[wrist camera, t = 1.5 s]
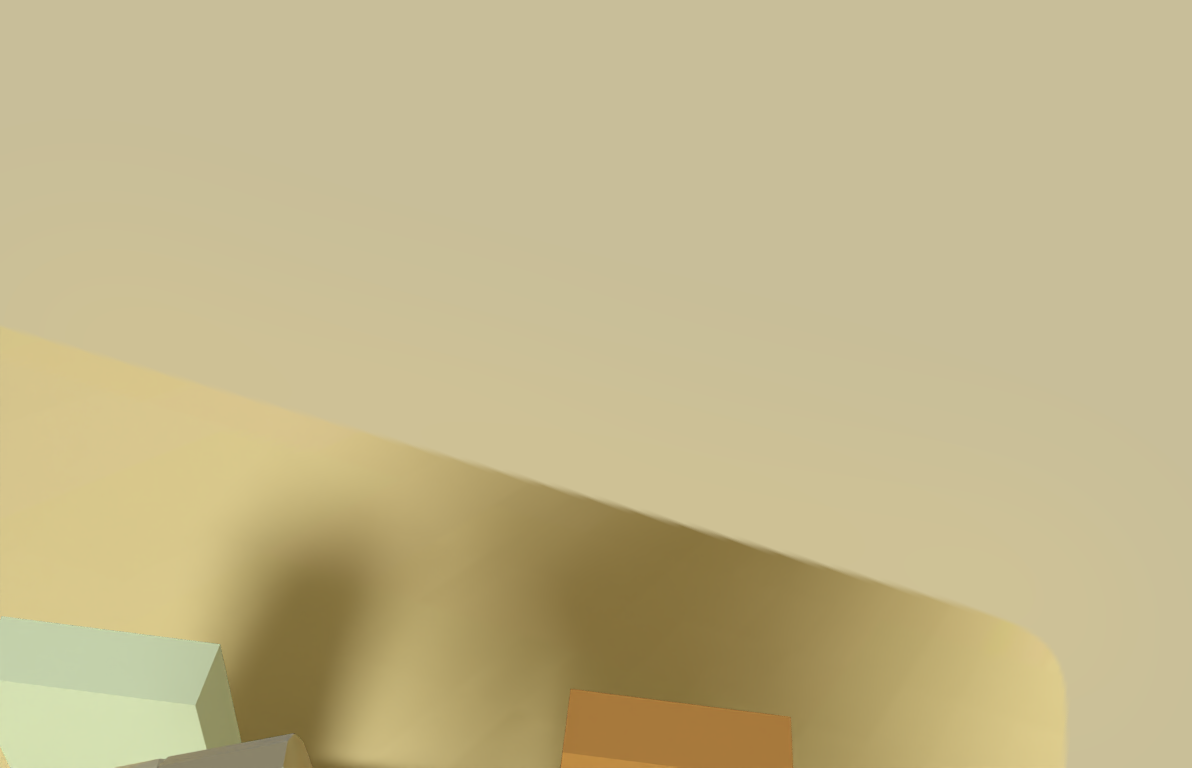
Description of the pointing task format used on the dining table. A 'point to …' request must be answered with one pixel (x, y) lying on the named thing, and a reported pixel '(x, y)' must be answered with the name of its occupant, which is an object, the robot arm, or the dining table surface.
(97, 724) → the sage paddle lever
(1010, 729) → the dining table surface
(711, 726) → the orange paddle lever
